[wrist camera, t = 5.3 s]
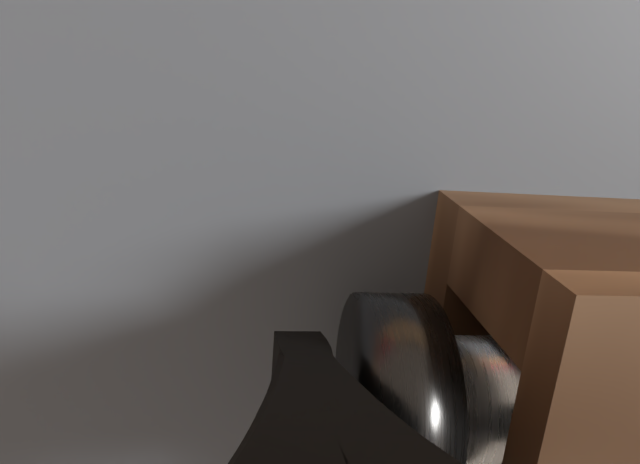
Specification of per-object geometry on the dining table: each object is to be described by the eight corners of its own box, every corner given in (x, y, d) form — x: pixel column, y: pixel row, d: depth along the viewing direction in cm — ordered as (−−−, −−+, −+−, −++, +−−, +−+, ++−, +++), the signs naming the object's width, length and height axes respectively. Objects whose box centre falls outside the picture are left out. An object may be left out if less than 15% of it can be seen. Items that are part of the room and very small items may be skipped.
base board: (631, 536, 17) (655, 567, 16) (-157, 577, 14) (-187, 617, 13) (793, 7, 12) (840, 5, 11) (-309, -109, 9) (-372, -125, 8)
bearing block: (604, 443, 14) (783, 642, 9) (401, 447, 13) (489, 667, 9) (670, 200, 12) (933, 301, 8) (438, 190, 11) (576, 295, 7)
